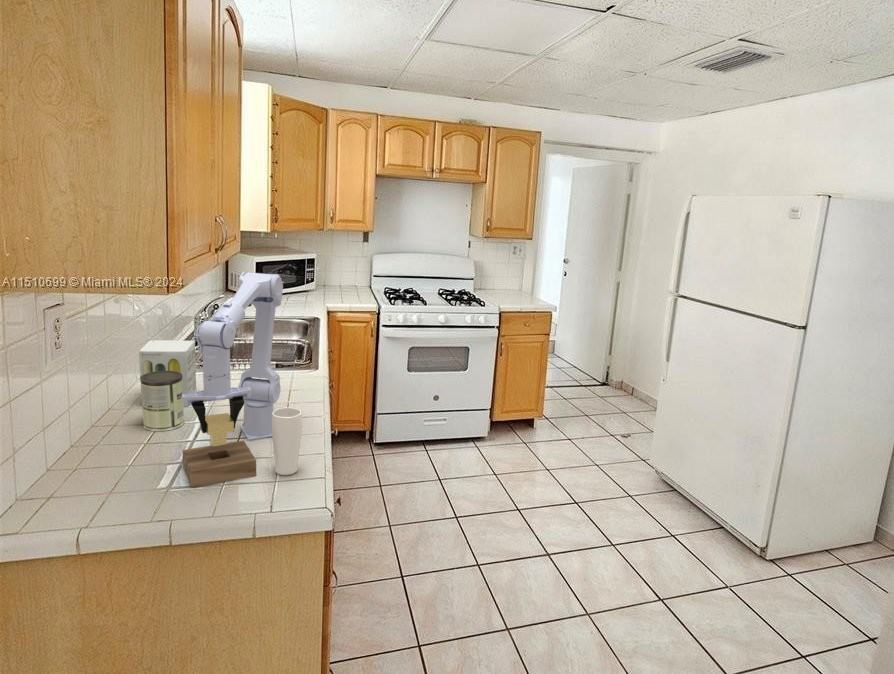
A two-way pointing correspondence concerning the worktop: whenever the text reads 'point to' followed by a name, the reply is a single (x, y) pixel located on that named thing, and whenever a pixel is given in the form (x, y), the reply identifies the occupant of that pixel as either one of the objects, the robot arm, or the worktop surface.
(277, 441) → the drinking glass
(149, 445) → the worktop surface
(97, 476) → the worktop surface
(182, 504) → the worktop surface
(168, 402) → the coffee can
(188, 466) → the brown wooden block
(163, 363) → the supplement box
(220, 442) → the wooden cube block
